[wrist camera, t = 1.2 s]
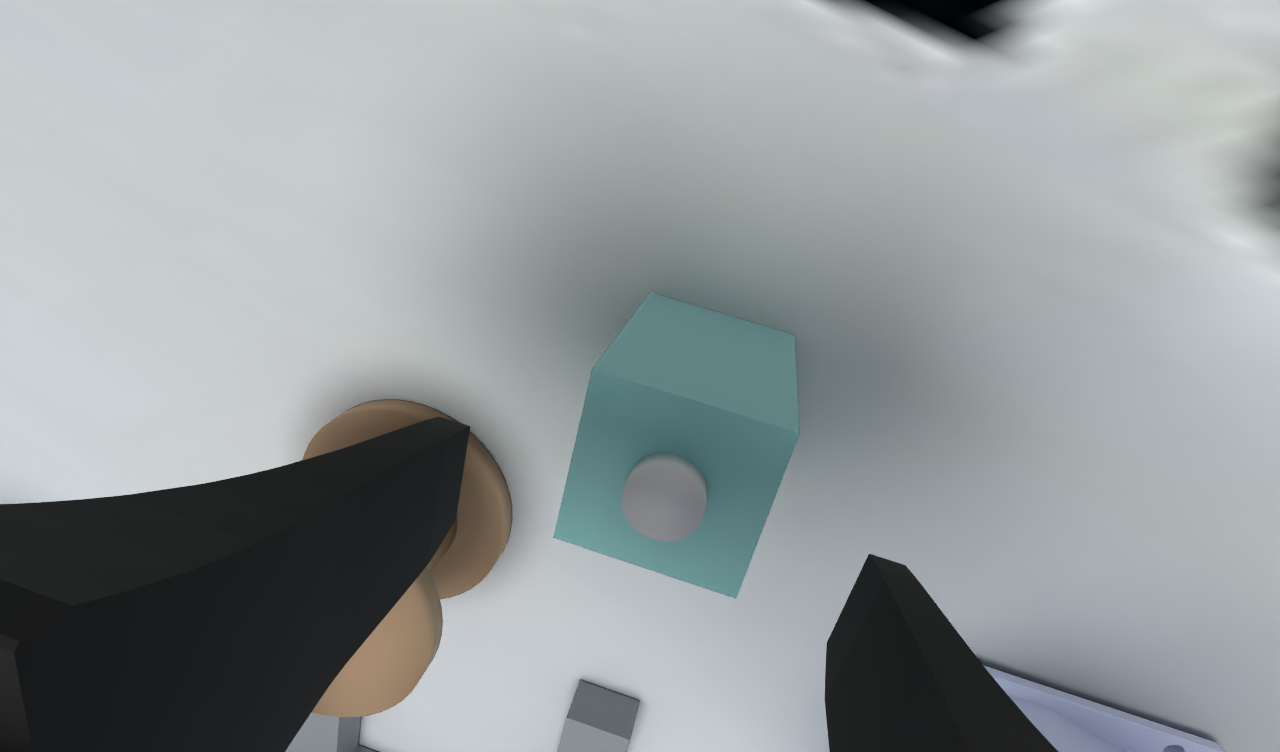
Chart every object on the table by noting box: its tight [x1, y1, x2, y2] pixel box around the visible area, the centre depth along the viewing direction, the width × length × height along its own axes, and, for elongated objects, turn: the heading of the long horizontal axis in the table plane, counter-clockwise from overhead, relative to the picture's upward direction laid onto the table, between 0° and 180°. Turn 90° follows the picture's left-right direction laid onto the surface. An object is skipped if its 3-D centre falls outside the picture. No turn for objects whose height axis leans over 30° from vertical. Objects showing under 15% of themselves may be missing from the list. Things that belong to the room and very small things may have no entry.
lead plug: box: [553, 292, 800, 598], centre depth 16 cm, size 4×4×7 cm
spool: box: [303, 400, 512, 717], centre depth 20 cm, size 7×7×6 cm
